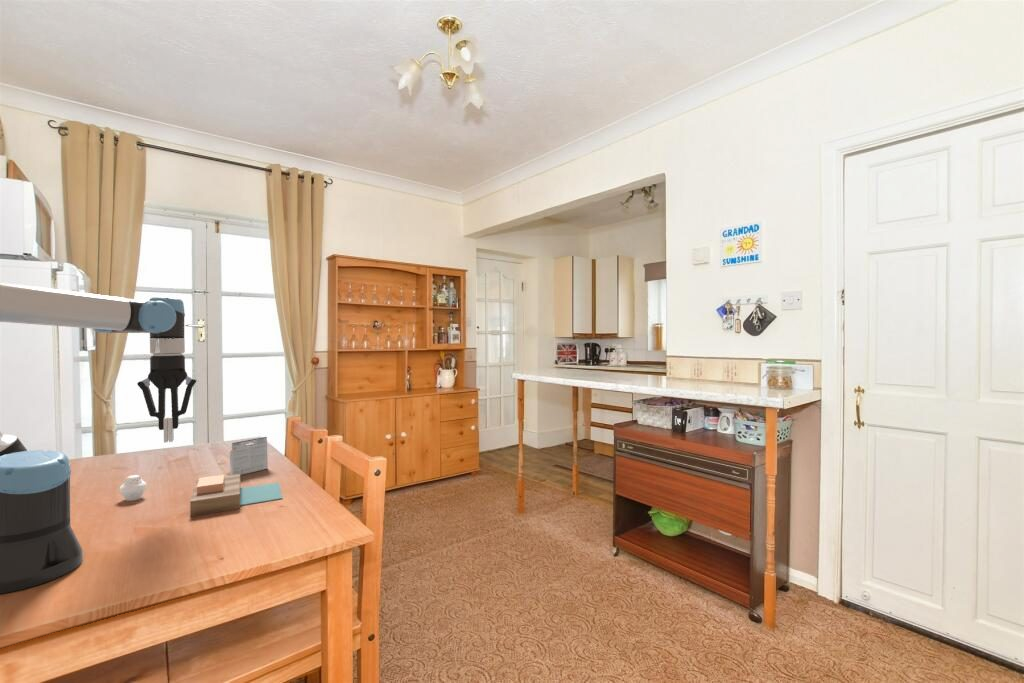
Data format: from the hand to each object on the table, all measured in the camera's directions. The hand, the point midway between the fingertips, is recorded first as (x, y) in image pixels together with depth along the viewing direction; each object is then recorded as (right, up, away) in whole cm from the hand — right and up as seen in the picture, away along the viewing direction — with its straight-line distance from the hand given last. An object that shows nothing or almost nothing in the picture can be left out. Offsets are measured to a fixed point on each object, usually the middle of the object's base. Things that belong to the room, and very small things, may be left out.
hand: (168, 441), depth 123 cm
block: (+8, -14, +5) cm, 17 cm away
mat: (+18, -18, +11) cm, 28 cm away
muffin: (-16, -19, +7) cm, 25 cm away
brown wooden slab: (+9, -18, +6) cm, 21 cm away
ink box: (+3, -18, +32) cm, 37 cm away
